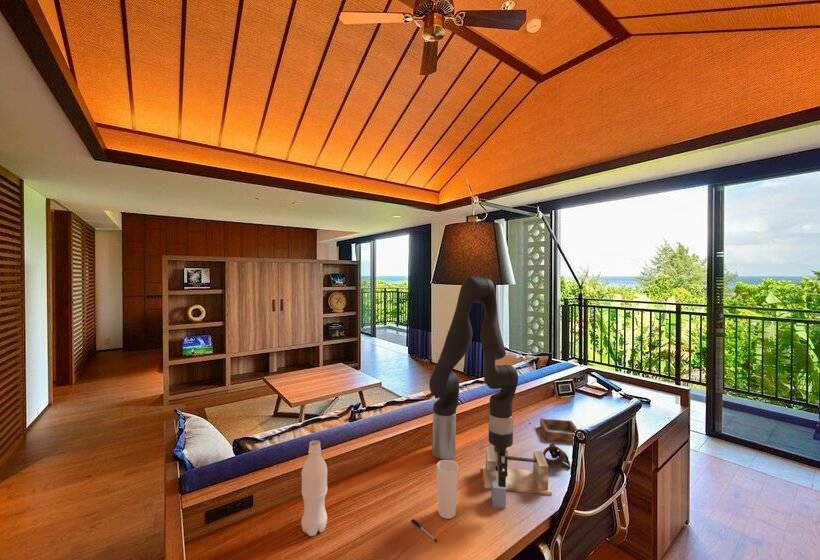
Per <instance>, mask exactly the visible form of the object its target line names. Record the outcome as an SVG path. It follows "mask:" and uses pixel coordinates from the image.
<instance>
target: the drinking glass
mask: <svg viewBox="0 0 820 560" xmlns="http://www.w3.org/2000/svg"><path fill="white" fill-rule="evenodd" d="M459 470H460V467H459V464H458V463H457V462H456V461H454V460H451V459H440V461H438V462H437V464H436V472H435V473H436V488H437V490H436V491H437V493H436V494H437V506H438V509H437V512H438V515H439V516H440V517H441V518H442V519H446V520H449V519H453V518H454V517H455V516H456V514H457V501H458V489H459V481H460V480H459V479H460V471H459Z"/></svg>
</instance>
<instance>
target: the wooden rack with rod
mask: <svg viewBox="0 0 820 560" xmlns="http://www.w3.org/2000/svg"><path fill="white" fill-rule="evenodd" d="M532 456H533V457H524V456H511V455H508V456H507V458H508V459H507V461H517V462H527V463H532V470H530V469H519V468H510V467H507V474H508V476H507V477H506V491H511V492H518V493H519V492H520V493H529V494H539V495H545V496H546V495H548V496H552V495H553V492H552V489H551V487H550V486H551V485H550V484H549V472H550V471H549V467H550V466H548V464H547V461H546V459H545V457H546V456H545V457H544V454H543V451H542V450H533V455H532ZM503 471H504V469H503ZM482 477H483V485H484V486H483V487H484V489H491V490H492V479H498V471H496V459H495V456H494V446H485V465H482Z"/></svg>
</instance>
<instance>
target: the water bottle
mask: <svg viewBox="0 0 820 560" xmlns="http://www.w3.org/2000/svg"><path fill="white" fill-rule="evenodd" d="M308 447H309V448H308V455H307V458H306V460H305V463H304V464H303V466H302V469H301V495H302V496H301V497H302V499H303V507H304V508H303V515H302V517H301V520H300V525H301V529H302V531H303V532H304V534H307V535H308V537H309V536H310V537H315V536H317V534H318V532H319V533H323V532H324V531H325V528H326V526H327V523H328V514H327V510H326V504H325V499H326V496H327V493H328V491H329V490H328V465H327V463H326V461H325V459H324V458H323V456H322V453H321V452H322V448H321V447H322V446H321V441H320V440H314V439H313V440H311V441H309V445H308Z"/></svg>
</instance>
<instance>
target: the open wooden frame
mask: <svg viewBox="0 0 820 560" xmlns="http://www.w3.org/2000/svg"><path fill="white" fill-rule="evenodd" d="M539 428H540V431H541V433H542V435H543V437H544V439H545V440H546V442H556V443H566V444H567V443H568V444H574V443H573V437H574V433H575V431H576V430H579V429H578V428H577V426H576V425H575V423H574V422H573V421H572V420H566V419H565V420H564V419H552V418H540V419H539ZM549 429H550V430H549ZM551 429H553V430H554V429H555V430H564V431H565V430H566V431H565V432H564V431H555V430H554V431H553V430H551ZM568 431H569V432H568Z"/></svg>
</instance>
